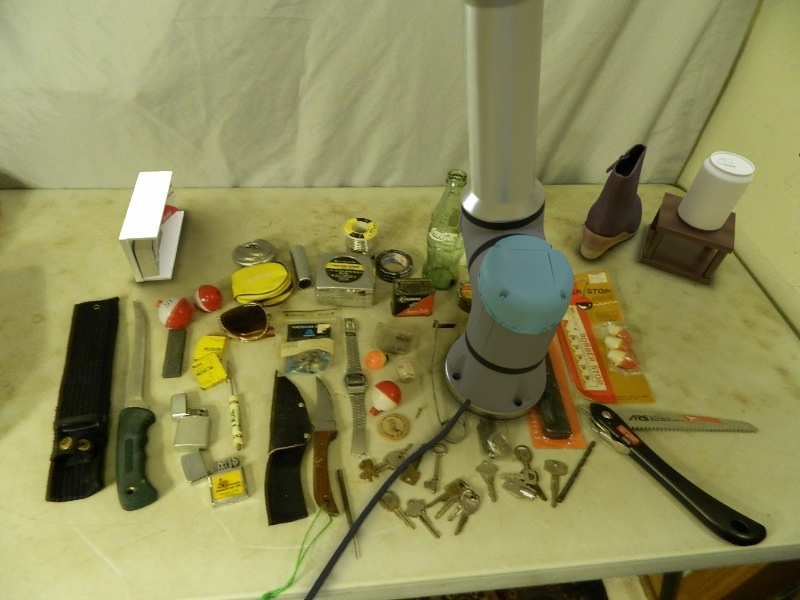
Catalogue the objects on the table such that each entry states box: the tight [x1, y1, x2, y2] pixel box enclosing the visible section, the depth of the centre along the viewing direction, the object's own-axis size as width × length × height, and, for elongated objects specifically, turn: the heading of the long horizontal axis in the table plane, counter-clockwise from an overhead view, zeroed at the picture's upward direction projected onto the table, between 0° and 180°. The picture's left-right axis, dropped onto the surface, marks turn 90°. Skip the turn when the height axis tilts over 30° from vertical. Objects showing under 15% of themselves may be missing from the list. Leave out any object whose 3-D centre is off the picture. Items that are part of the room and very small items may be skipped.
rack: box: [638, 191, 737, 286], centre depth 101 cm, size 12×13×9 cm
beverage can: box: [678, 150, 756, 230], centre depth 94 cm, size 8×8×12 cm
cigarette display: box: [118, 171, 185, 283], centre depth 93 cm, size 20×6×9 cm, turn 9°
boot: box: [580, 143, 648, 260], centre depth 101 cm, size 9×24×20 cm, turn 143°
